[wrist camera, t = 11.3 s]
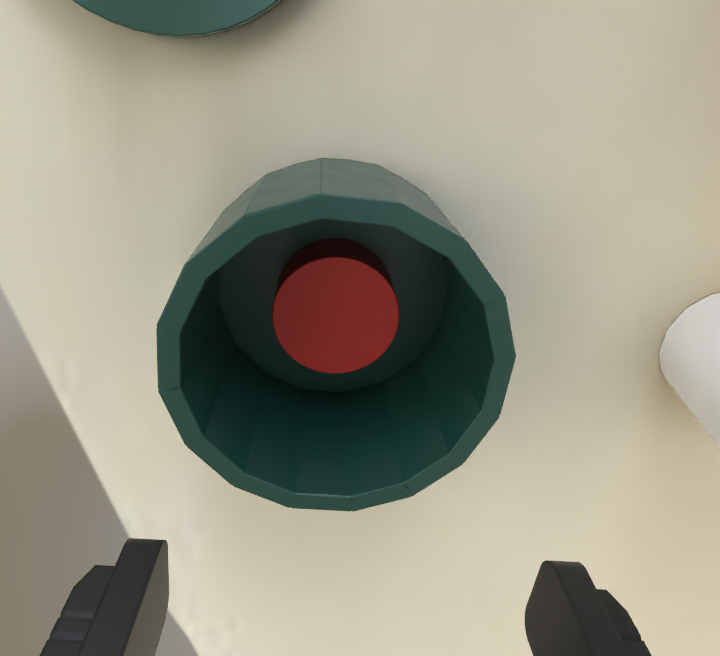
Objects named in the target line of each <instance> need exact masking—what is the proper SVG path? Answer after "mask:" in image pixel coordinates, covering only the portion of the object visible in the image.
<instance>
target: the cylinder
mask: <svg viewBox="0 0 720 656" xmlns="http://www.w3.org/2000/svg"><path fill="white" fill-rule="evenodd" d="M272 322H273V328H274V331H275V335H276V337H277V339H278V341H279V343H280V344H281V346H282V347H283V349H284V350H285V351H286V352H287V353H288V354H289V355H290V356H291V357H292V358H293V359H294V360H296V361H297V362H298V363H300V364H302V365H303V366H305V367H307V368H310V369H312V370H315V371H319V372H324V373H347V372H352V371H355V370H358V369H361V368H363V367H365V366H367V365H369V364H371V363H372V362H374V361H375V360H376V359H378V358H379V357H380V356H381V355H382V354H383V353H384V352H385V351H386V350H387V348H388V347H389V346H390V344H391V343H392V341H393V339H394V337H395V334H396V332H397V329H398V324H399V305H398V300H397V297H396V294H395V291H394V288H393V285H392V282H391V279H390V276H389V273H388V271H387V269H386V267H385V265H384V263H383V262H382V261H381V259H380V258H379V257H378V256H377V255H376V254H375V253H374V252H373V251H371V250H370V249H369V248H367V247H366V246H364V245H362V244H360V243H358V242H355V241H352V240H348V239H342V238H328V239H322V240H318V241H315V242H312V243H310V244H308V245H306V246H304V247H302V248H301V249H299V250H298V251H297V252H296V253H295V254H293V255H292V256H291V258H290V259H289V260H288V261H287V262H286V264H285V266H284V267H283V269H282V271H281V274H280V277H279V280H278V284H277V289H276V293H275V298H274V302H273V309H272Z"/></svg>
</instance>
